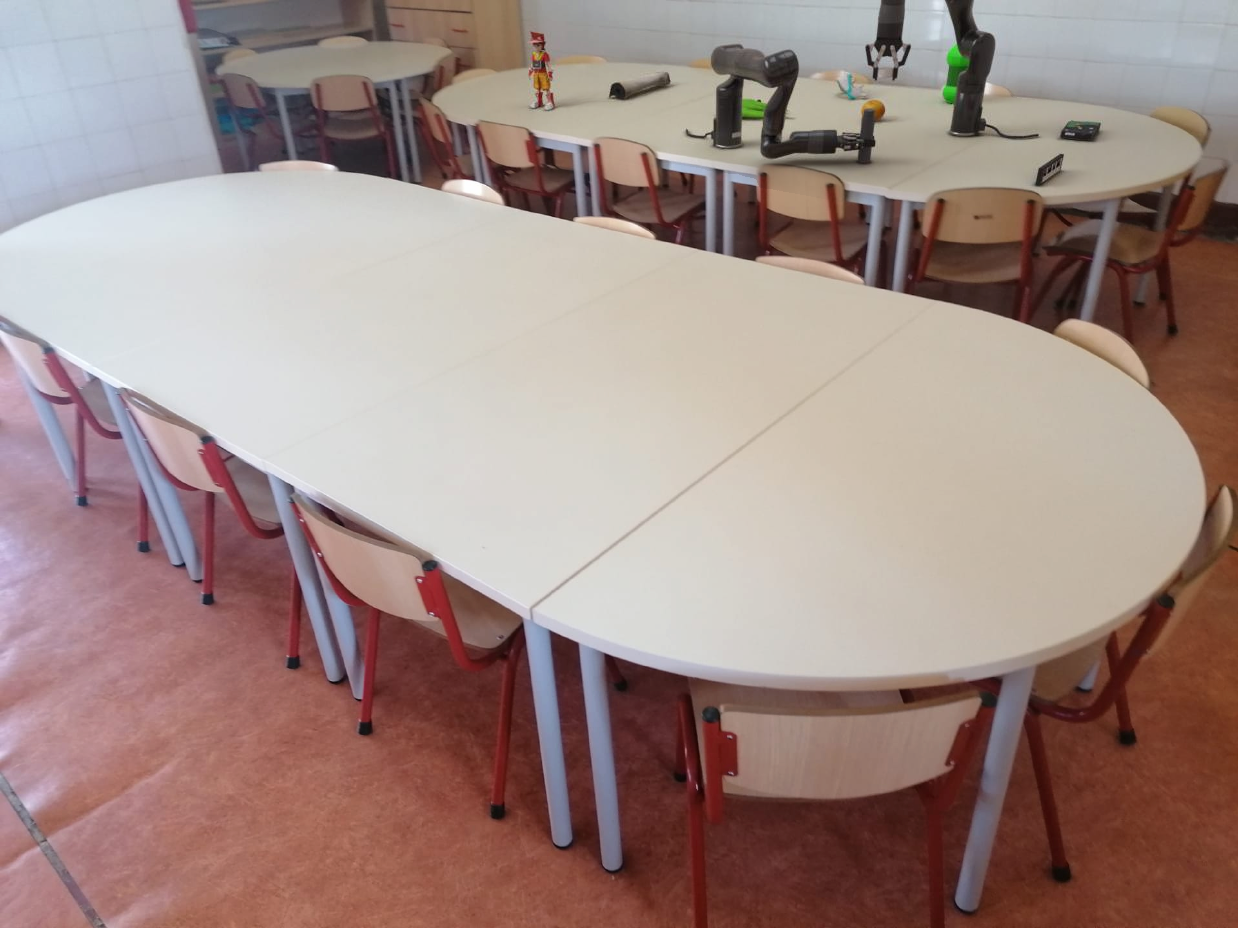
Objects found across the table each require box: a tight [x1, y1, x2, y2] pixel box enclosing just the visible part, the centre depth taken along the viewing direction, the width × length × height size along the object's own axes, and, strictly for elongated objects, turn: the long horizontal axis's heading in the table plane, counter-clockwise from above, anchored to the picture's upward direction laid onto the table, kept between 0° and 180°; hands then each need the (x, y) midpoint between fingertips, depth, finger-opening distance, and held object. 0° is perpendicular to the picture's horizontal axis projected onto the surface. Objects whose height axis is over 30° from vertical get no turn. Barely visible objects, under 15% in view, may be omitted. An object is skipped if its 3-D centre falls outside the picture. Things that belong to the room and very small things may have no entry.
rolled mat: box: [608, 71, 672, 101], centre depth 395 cm, size 30×9×10 cm
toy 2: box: [742, 98, 793, 119], centre depth 353 cm, size 28×5×30 cm
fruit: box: [860, 99, 886, 122], centre depth 337 cm, size 8×8×8 cm
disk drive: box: [1059, 120, 1102, 141], centre depth 309 cm, size 10×3×15 cm
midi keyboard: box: [1035, 153, 1065, 186], centre depth 273 cm, size 18×1×5 cm, turn 138°
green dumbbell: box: [942, 43, 969, 104], centre depth 348 cm, size 10×10×25 cm
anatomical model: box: [836, 70, 868, 100], centre depth 369 cm, size 15×10×10 cm
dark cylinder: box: [856, 109, 876, 165], centre depth 293 cm, size 4×4×16 cm
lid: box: [877, 66, 894, 79], centre depth 279 cm, size 5×5×2 cm
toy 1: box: [527, 31, 556, 111], centre depth 374 cm, size 12×9×30 cm
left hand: (874, 141), depth 294 cm, fingers closed on dark cylinder, 4 cm apart
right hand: (884, 80), depth 280 cm, fingers closed on lid, 4 cm apart
